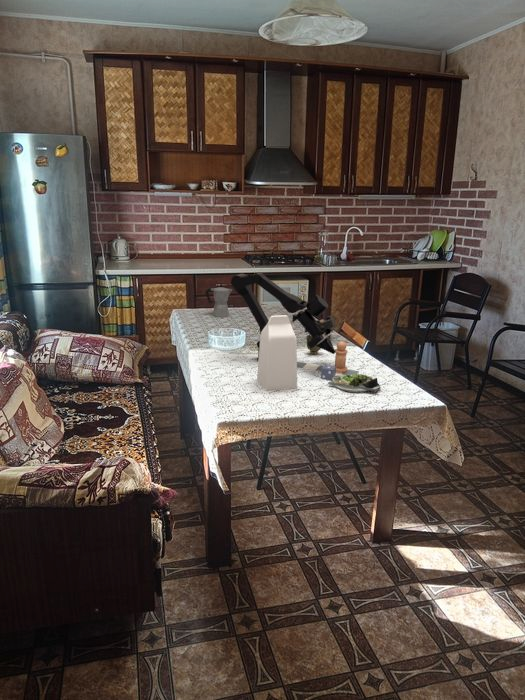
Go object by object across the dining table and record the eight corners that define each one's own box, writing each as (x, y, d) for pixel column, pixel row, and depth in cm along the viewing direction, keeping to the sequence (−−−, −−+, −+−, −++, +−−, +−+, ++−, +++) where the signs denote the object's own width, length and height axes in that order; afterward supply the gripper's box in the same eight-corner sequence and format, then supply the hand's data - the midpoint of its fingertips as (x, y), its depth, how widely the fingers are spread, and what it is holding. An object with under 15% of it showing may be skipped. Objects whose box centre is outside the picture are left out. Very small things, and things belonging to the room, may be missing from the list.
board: (289, 366, 221) (289, 366, 220) (294, 361, 227) (294, 361, 227) (355, 376, 211) (355, 376, 211) (359, 371, 217) (359, 371, 217)
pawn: (337, 374, 213) (340, 344, 209) (329, 369, 218) (331, 340, 214) (350, 372, 215) (352, 342, 212) (341, 367, 220) (343, 339, 217)
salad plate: (332, 395, 192) (333, 383, 190) (322, 378, 209) (323, 367, 208) (384, 395, 194) (386, 383, 192) (371, 378, 211) (372, 367, 209)
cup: (321, 357, 235) (322, 339, 232) (304, 355, 236) (305, 338, 234) (322, 352, 242) (324, 335, 239) (306, 350, 243) (307, 333, 241)
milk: (265, 390, 194) (268, 320, 186) (256, 379, 204) (258, 312, 197) (296, 388, 197) (300, 319, 189) (286, 377, 207) (289, 311, 200)
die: (320, 379, 207) (321, 367, 206) (324, 375, 211) (325, 364, 210) (331, 381, 206) (332, 369, 204) (335, 377, 210) (336, 366, 208)
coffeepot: (230, 313, 310) (231, 282, 305) (233, 317, 301) (234, 285, 296) (204, 313, 307) (204, 282, 302) (206, 317, 298) (206, 285, 293)
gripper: (317, 315, 204) (343, 347, 203) (330, 306, 221) (355, 335, 220) (296, 333, 209) (322, 364, 208) (311, 323, 226) (335, 351, 225)
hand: (334, 353), depth 215 cm, fingers closed
